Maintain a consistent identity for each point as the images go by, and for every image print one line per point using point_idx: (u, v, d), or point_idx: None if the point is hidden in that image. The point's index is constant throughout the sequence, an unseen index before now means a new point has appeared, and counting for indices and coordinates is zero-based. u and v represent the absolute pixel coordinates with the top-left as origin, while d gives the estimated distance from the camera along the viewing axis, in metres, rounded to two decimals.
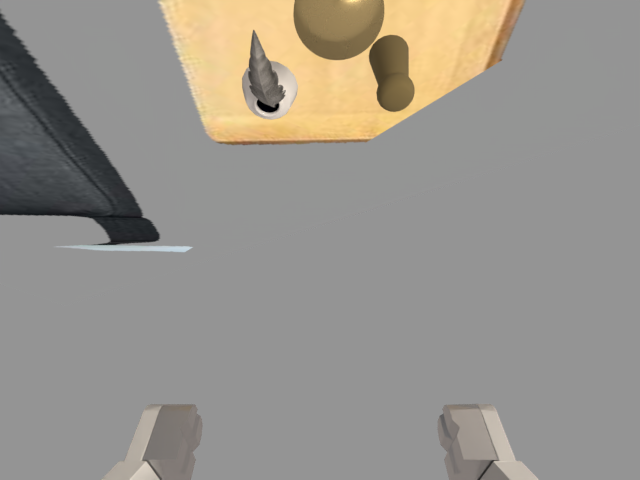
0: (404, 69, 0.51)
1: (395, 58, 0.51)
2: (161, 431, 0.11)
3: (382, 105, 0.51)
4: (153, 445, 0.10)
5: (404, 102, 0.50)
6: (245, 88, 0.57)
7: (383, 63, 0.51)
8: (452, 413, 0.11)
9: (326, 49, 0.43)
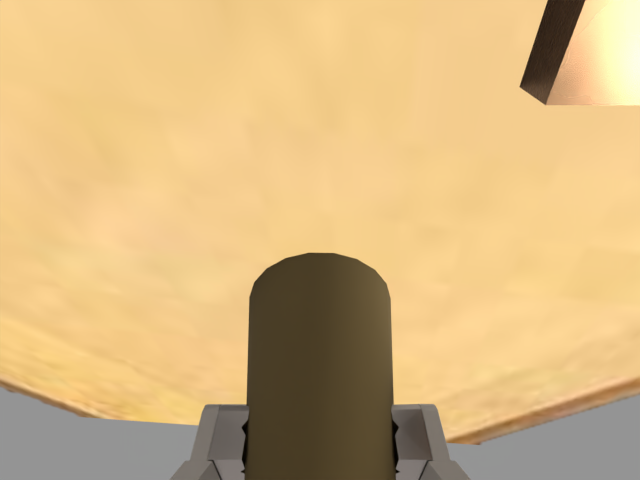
0: (394, 474, 0.11)
1: (381, 395, 0.11)
2: (223, 431, 0.11)
3: None
4: (217, 445, 0.10)
5: None
6: None
7: (335, 394, 0.10)
8: (393, 413, 0.11)
9: None
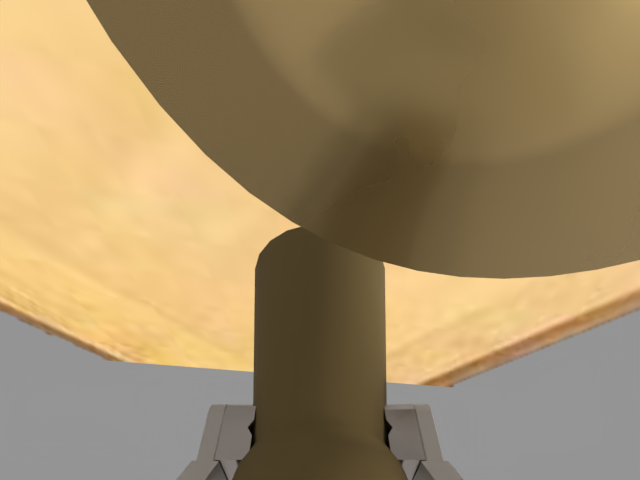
0: None
1: (373, 344, 0.12)
2: (229, 431, 0.11)
3: None
4: (223, 445, 0.10)
5: None
6: None
7: (331, 340, 0.12)
8: (387, 413, 0.11)
9: None
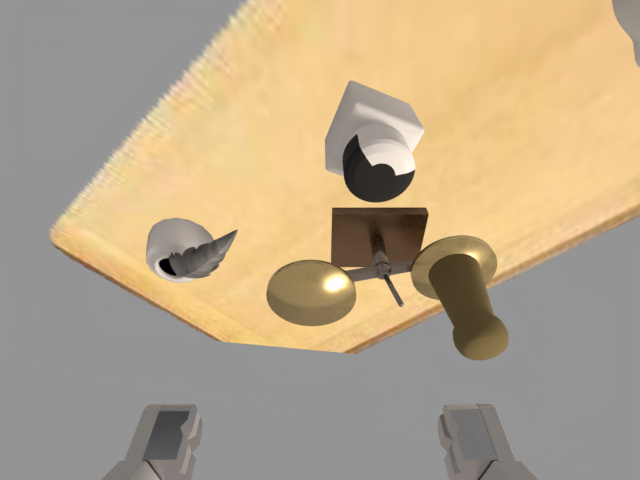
0: None
1: (486, 293, 0.39)
2: (161, 431, 0.11)
3: (466, 344, 0.35)
4: (153, 445, 0.10)
5: (487, 357, 0.36)
6: (161, 236, 0.46)
7: (476, 291, 0.38)
8: (452, 413, 0.11)
9: (279, 306, 0.42)
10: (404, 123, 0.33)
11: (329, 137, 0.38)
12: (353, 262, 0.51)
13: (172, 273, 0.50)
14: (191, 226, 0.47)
